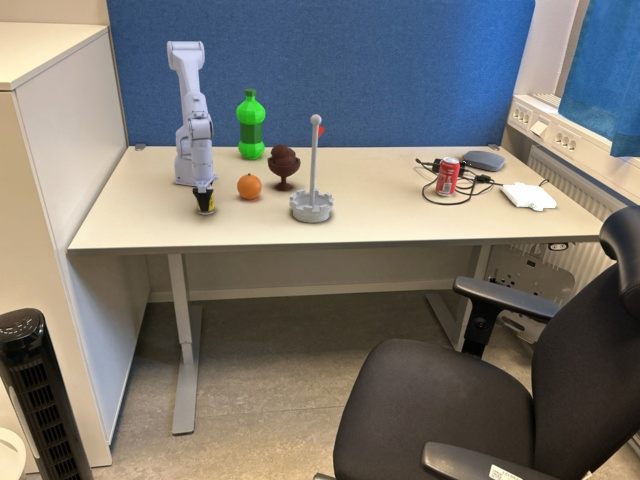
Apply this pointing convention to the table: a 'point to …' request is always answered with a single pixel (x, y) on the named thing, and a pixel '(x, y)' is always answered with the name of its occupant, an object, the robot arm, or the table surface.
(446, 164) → the beverage can
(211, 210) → the supplement bottle
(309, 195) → the flag stand
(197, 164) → the robot arm
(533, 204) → the mounting plate
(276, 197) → the table surface
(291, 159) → the ice cream bowl
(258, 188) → the orange
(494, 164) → the media streaming box
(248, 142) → the plastic bottle
